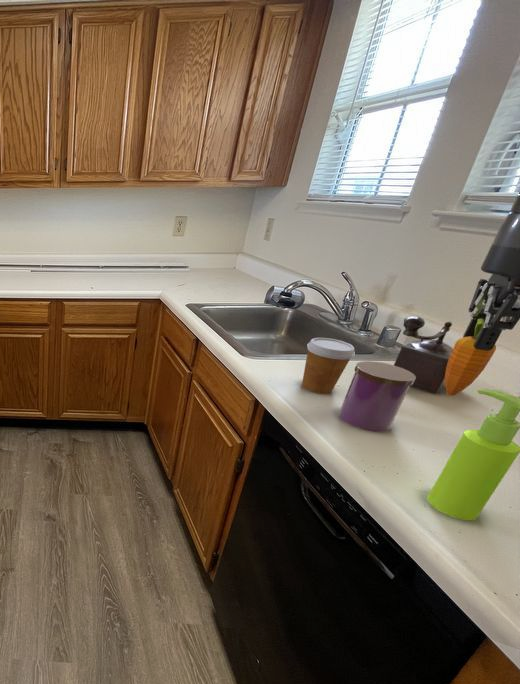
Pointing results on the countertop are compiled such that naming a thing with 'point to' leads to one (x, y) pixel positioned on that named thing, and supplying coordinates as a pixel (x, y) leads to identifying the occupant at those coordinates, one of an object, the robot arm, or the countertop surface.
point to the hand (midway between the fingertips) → (476, 343)
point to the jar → (375, 395)
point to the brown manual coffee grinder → (425, 356)
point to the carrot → (466, 362)
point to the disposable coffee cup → (325, 364)
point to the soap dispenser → (478, 462)
